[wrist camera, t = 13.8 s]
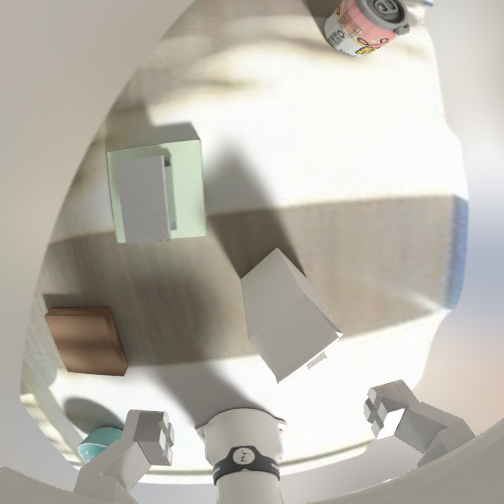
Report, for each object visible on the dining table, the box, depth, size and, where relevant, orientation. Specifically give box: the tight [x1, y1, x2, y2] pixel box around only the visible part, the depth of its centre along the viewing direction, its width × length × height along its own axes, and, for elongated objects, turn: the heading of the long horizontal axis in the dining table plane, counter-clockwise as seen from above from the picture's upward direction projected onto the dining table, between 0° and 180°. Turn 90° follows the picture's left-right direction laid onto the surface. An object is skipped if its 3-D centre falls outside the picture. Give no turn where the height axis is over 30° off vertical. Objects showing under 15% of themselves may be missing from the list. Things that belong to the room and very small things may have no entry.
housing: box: [117, 156, 178, 245], centre depth 31 cm, size 5×9×6 cm, turn 3°
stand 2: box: [107, 140, 207, 243], centre depth 35 cm, size 12×12×3 cm
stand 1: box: [45, 307, 128, 376], centre depth 41 cm, size 12×12×3 cm
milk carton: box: [241, 247, 343, 384], centre depth 33 cm, size 7×7×19 cm
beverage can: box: [324, 0, 410, 57], centre depth 26 cm, size 9×8×12 cm
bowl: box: [78, 427, 123, 463], centre depth 48 cm, size 16×16×8 cm
